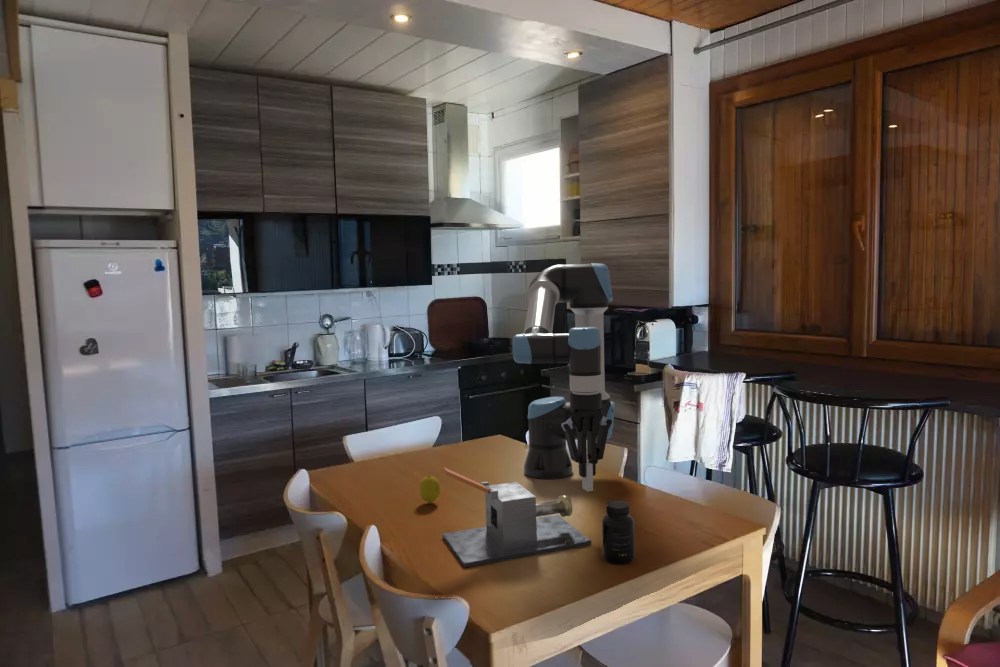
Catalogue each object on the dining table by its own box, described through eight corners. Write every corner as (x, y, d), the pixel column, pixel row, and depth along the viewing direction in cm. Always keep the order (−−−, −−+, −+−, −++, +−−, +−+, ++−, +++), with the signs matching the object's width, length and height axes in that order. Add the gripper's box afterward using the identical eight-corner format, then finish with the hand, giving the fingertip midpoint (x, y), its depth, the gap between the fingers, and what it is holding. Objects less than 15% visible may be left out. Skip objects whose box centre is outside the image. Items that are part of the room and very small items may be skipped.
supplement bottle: (599, 553, 145) (598, 499, 144) (629, 551, 145) (629, 498, 144) (607, 566, 138) (606, 510, 137) (639, 564, 138) (638, 508, 137)
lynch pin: (563, 512, 159) (563, 492, 159) (572, 519, 155) (572, 498, 154) (503, 522, 154) (502, 501, 154) (510, 529, 149) (509, 507, 149)
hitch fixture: (558, 518, 166) (556, 465, 165) (591, 544, 149) (589, 485, 148) (442, 537, 156) (440, 480, 155) (464, 567, 139) (461, 504, 138)
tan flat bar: (487, 491, 152) (489, 486, 152) (493, 496, 148) (495, 492, 148) (440, 470, 148) (442, 465, 148) (445, 475, 144) (447, 470, 144)
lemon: (437, 507, 177) (436, 478, 177) (417, 506, 179) (416, 477, 178) (443, 500, 183) (441, 472, 182) (424, 499, 184) (422, 471, 183)
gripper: (602, 387, 162) (604, 482, 164) (554, 392, 158) (556, 488, 159) (617, 392, 155) (619, 490, 156) (567, 396, 151) (569, 497, 152)
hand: (587, 489), depth 158 cm, fingers closed
